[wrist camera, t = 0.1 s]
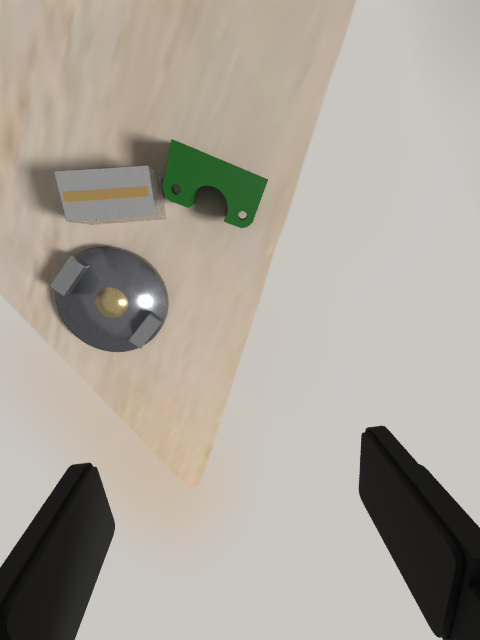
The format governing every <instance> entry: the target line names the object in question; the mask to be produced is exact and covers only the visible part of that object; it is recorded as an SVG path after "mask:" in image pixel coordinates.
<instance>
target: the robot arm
mask: <svg viewBox="0 0 480 640" xmlns="http://www.w3.org/2000/svg"><path fill="white" fill-rule="evenodd" d="M361 437H362V438H361V456H360V475H359V476H360V477H359V494H360V497H361V500H362V502H363V504H364V506H365V508H366V510H367V511H368V513H369V515H370V517H371V519H372V521H373V523H374V524H375V526H376V528H377V530H378V532H379V534H380V536H381V537H382V539H383V541H384V543H385V545H386V547H387V548H388V550H389V552H390V554H391V556H392V558H393V560H394V561H395V563H396V565H397V567H398V569H399V570H400V573H401V574H402V576H403V578H404V580H405V582H406V584H407V586H408V587H409V589H410V591H411V593H412V595H413V597H414V599H415V600H416V602H417V604H418V606H419V608H420V610H421V612H422V613H423V615H424V617H425V619H426V621H427V623H428V625H429V626H430V628H431V630H432V631H433V633H434V634H435V635H436V636H437V637H439V638H440V637H442V638H443V640H480V528H479V527H478V525H477V524H476V523H475V522H474V521H473V520H472V519H471V518H470V517H469V515H468V514H466V512H465V511H464V510H463V509H462V508H461V507H460V505H459V504H458V503H457V502H456V501H455V500H454V499H453V498H452V497H451V495H450V494H449V493H448V492H447V491H446V490H445V489H444V488H443V487H442V485H441V484H440V483H439V482H438V481H437V480H436V479H435V478H434V477H433V475H432V474H431V473H430V472H429V471H428V470H427V469H426V468H425V467H424V466H422V465H420V464H418V463H417V462H416V461H415V459H414V458H413V457H412V456H411V455H410V454H409V453H408V451H407V450H406V449H405V448H404V447H403V446H402V445H401V444H400V442H398V440H397V439H396V438H395V437H394V436H393V435H392V433H391V432H390V431H389V430H388V429H387V428H386V427H385V426H378V427H377V426H376V427H369V428H366V431H365V433H362V436H361ZM114 530H115V522H114V518H113V515H112V512H111V509H110V506H109V503H108V500H107V497H106V494H105V491H104V488H103V484H102V481H101V478H100V475H99V472H98V469H97V467H93V465H92V464H91V463H83V464H75V465H71V466H70V467H69V468H68V469H67V471H66V472H65V474H64V475H63V477H62V478H61V480H60V481H59V482H58V484H57V485H56V487H55V488H54V490H53V491H52V493H51V494H50V496H49V497H48V499H47V500H46V502H45V503H44V504H43V506H42V507H41V509H40V511H39V512H38V513H37V515H36V516H35V518H34V519H33V520H32V522H31V523H30V525H29V526H28V528H27V529H26V531H25V532H24V534H23V535H22V537H21V538H20V540H19V541H18V542H17V544H16V545H15V547H14V548H13V550H12V551H11V553H10V554H9V556H8V557H7V559H6V560H5V562H4V563H3V564H2V566H1V567H0V640H75V637H76V635H77V632H78V629H79V627H80V623H81V621H82V618H83V616H84V613H85V610H86V608H87V605H88V602H89V600H90V597H91V594H92V591H93V589H94V586H95V583H96V581H97V578H98V575H99V573H100V570H101V567H102V565H103V562H104V559H105V556H106V554H107V551H108V548H109V546H110V543H111V540H112V538H113V535H114Z"/></svg>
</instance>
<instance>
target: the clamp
mask: <svg viewBox="0 0 480 640" xmlns="http://www.w3.org/2000/svg"><path fill="white" fill-rule="evenodd" d="M267 181H268V179H265V178H263V177H261V176H258V175H256V174H254V173H251V172H249V171H246V170H244V169H242V168H239V167H237V166H235V165H232V164H230V163H227V162H225V161H223V160H220V159H218V158H215V157H213V156H211V155H208V154H206V153H204V152H201V151H199V150H196V149H194V148H192V147H189V146H187V145H185V144H182V143H180V142H177V141H175V140H173V139H172V140H171V145H170V150H169V156H168V161H167V166H166V171H165V177H164V182H163V192H164V195H165V196H166V198H167V199H169V200H170V201H172V202H174V203H177V204H180V205H182V206H185V207H187V208H189V207H190V206H192V205H193V204H195V196H196V193H197V192H198V190H199V189H200V188H201V187H202V186H212V187H215V188H217V189H218V190H220V191H221V192H222V194H223V195H224V196H225V198H226V201H227V205H228V212H227V215H226V217H225V219H224V222H227V223H229V224H232V225H235V226H237V227H240V228H245V227H248V226H249V225H250V224H251V223H252V222H253V219H254V217H255V214H256V211H257V208H258V206H259V203H260V200H261V197H262V195H263V192H264V189H265V187H266V184H267ZM175 184H177V185H178V186H179V187H180V193H179V194H177V193H175V192H174V189H173V187H174V185H175ZM240 211H245V212H246V213H247V216H246V218H244V219H241V218H240V217H239V216H238V213H239V212H240Z"/></svg>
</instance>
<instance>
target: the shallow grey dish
mask: <svg viewBox="0 0 480 640" xmlns="http://www.w3.org/2000/svg"><path fill="white" fill-rule="evenodd" d="M50 287H51V288H53V289H54V290H55V297H56V304H57V308H58V311H59V314H60V316H61V318H62V320H63V321H64V323H65V324H66V326H67V327H68V328H69V329H70V331H71V332H72V333H73V334H74V335H75V336H76V337H78V338H79V339H80V340H82V341H83V342H85V343H87V344H88V345H90V346H92V347H95V348H97V349H101V350H105V351H110V352H125V351H130V350H134V349H137V348H140V349H141V348H142V347H143V345H145V344H147V343H148V342H149V341H150V340H152V339H153V338H154V337H155V336H156V334H157V333H158V332H159V330H160V329H161V327H162V326H163V324H164V322H165V319H166V316H167V312H168V295H167V290H166V287H165V285H164V282H163V280H162V278H161V277H160V275H159V274H158V272H157V271H156V270H155V268H154V267H153V266H152V265H151V264H150V263H148V262H147V261H146V260H145V259H143V258H142V257H141V256H139V255H137V254H135V253H133V252H130V251H128V250H125V249H121V248H114V247H101V248H93V249H89V250H86V251H83V252H81V253H79V254H77V255H76V256H70V257H69V258H68V260H67V261H66V263H65V264H64V266H63V267H62V269H61V270H60V272H59V273H58V275H57V276H56V278H55V279H54V281H53V282H52V284H51V285H50Z"/></svg>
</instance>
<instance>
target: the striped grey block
mask: <svg viewBox="0 0 480 640" xmlns="http://www.w3.org/2000/svg"><path fill="white" fill-rule="evenodd" d="M54 174H55V178H56V182H57V186H58V190H59V194H60V198H61V202H62V206H63V210H64V214H65V217H66V221H68V222H75V223H83V224H91V225H93V224H107V223H121V222H135V221H149V220H162V219H166V212H165V205H164V198H163V191H162V185H161V178H160V177H159V176H158V175H157V174H156V173H155V172H154V171H153V170H152V169H151V168H150V167H149V166H135V167H119V168H103V169H88V170H72V171H56V172H54Z"/></svg>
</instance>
